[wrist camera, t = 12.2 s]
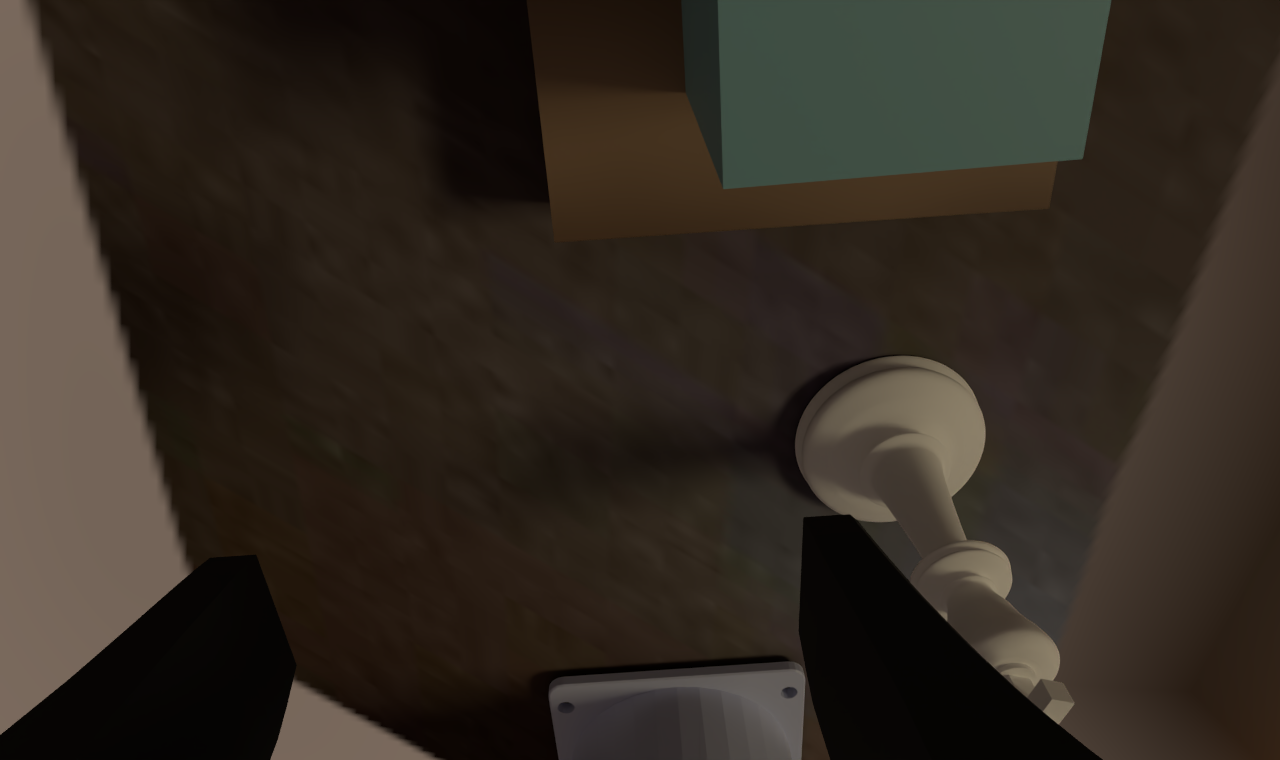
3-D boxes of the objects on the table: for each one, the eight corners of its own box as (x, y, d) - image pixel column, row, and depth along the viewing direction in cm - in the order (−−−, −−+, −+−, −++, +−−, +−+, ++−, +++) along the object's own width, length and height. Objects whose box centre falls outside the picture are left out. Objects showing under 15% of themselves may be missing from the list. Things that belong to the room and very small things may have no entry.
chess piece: (768, 488, 24) (860, 833, 15) (836, 334, 21) (992, 635, 13) (929, 524, 25) (1105, 870, 16) (1012, 379, 22) (1271, 691, 14)
